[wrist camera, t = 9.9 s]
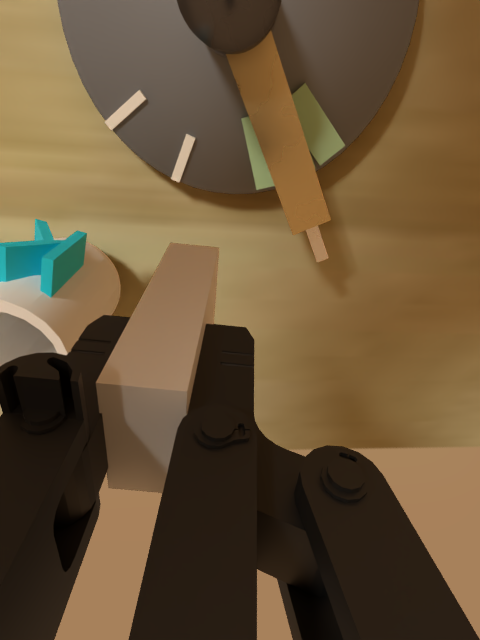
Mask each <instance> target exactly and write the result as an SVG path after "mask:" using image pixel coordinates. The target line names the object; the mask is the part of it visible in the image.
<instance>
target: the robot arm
mask: <svg viewBox="0 0 480 640" xmlns="http://www.w3.org/2000/svg"><path fill="white" fill-rule="evenodd" d="M218 257H219V248H217V247H208V246H198V245H188V244H178V243H170V244H169V246H168V248H167V250H166V252H165V254H164V256H163V257H162V259H161V261H160V263H159V265H158V267H157V269H156V271H155V272H154V274H153V276H152V278H151V280H150V282H149V284H148V286H147V287H146V289H145V291H144V293H143V295H142V297H141V299H140V301H139V302H138V304H137V306H136V308H135V310H134V312H133V314H132V316H131V317H120V316H110V315H103V316H101V317H100V318H98V319H96V320H95V321H93V322H92V323H90V324H89V325H87V327H86V328H85V330H84V331H83V333H82V334H81V335H80V337H79V340H78V341H76V343H75V344H74V346H73V347H72V348H71V352H69V353H68V354H67V355H63V354H58V353H54V352H48V353H34V354H29V355H25V356H20V357H18V358H15V359H13V360H11V361H9V362H7V363H4V364H3V365H1V366H0V405H1V408H2V411H3V414H2V415H1V416H0V640H54V639H55V636H56V633H57V630H58V627H59V625H60V622H61V619H62V616H63V613H64V611H65V608H66V605H67V602H68V600H69V597H70V594H71V591H72V589H73V585H74V583H75V580H76V577H77V575H78V572H79V569H80V566H81V564H82V561H83V558H84V555H85V552H86V550H87V547H88V544H89V541H90V538H91V536H92V533H93V530H94V527H95V524H96V522H97V519H98V516H99V510H100V499H99V490H100V488H101V485H102V483H103V480H104V477H105V475H106V472H107V478H108V486H109V488H113V489H125V490H136V491H147V492H158V493H162V497H161V502H160V506H159V510H158V515H157V519H156V523H155V528H154V532H153V536H152V541H151V545H150V549H149V554H148V558H147V562H146V567H145V571H144V576H143V580H142V584H141V588H140V593H139V597H138V601H137V606H136V610H135V614H134V619H133V623H132V627H131V632H130V636H129V640H257V569H258V570H260V571H262V572H264V573H266V574H269V575H271V576H273V577H275V578H277V580H278V584H279V588H280V592H281V596H282V599H283V603H284V607H285V611H286V615H287V619H288V623H289V626H290V630H291V634H292V638H293V640H480V639H479V638H478V636H477V634H476V632H475V631H474V629H473V627H472V626H471V624H470V622H469V621H468V619H467V617H466V615H465V614H464V612H463V610H462V609H461V607H460V605H459V604H458V602H457V600H456V598H455V597H454V595H453V594H452V592H451V590H450V588H449V587H448V585H447V583H446V581H445V580H444V578H443V576H442V575H441V573H440V571H439V569H438V568H437V566H436V564H435V563H434V561H433V559H432V558H431V556H430V554H429V552H428V551H427V549H426V548H425V546H424V544H423V542H422V541H421V539H420V537H419V535H418V534H417V532H416V530H415V529H414V527H413V525H412V524H411V522H410V520H409V518H408V517H407V515H406V513H405V512H404V510H403V508H402V507H401V505H400V503H399V501H398V500H397V498H396V496H395V495H394V493H393V491H392V490H391V488H390V486H389V485H388V483H387V481H386V479H385V478H384V476H383V474H382V473H381V472H380V471H379V470H378V468H377V467H376V466H375V465H374V464H373V462H371V461H370V460H369V459H367V458H366V457H364V456H363V455H361V454H360V453H359V452H356V451H353V450H351V449H348V448H345V447H342V446H324V447H320V448H317V449H314V450H313V451H311V452H310V453H309V454H308V455H307V456H306V457H305V456H302V455H299V454H297V453H294V452H292V451H289V450H286V449H284V448H282V447H280V446H278V445H276V444H274V443H273V442H272V441H270V440H269V439H268V438H266V437H265V436H264V435H263V433H262V432H261V431H260V430H259V428H258V426H257V424H256V422H255V418H254V339H253V337H252V336H251V334H250V333H249V331H248V330H247V328H246V327H236V326H226V325H216V324H214V313H215V299H216V285H217V271H218Z"/></svg>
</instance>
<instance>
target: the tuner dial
mask: <svg viewBox="0 0 480 640" xmlns="http://www.w3.org/2000/svg"><path fill="white" fill-rule="evenodd" d="M418 4H419V0H282V1H281V5H280V8H279V12H278V16H277V19H276V23H275V26H274V29H273V32H272V35H273V38H274V41H275V45H276V48H277V51H278V54H279V57H280V60H281V64H282V67H283V70H284V73H285V76H286V79H287V82H288V86H289V89H290V92H291V95H292V98H293V101H294V105H295V108H296V111H297V114H298V117H299V120H300V123H301V127H302V130H303V133H304V136H305V139H306V142H307V146H308V149H309V152H310V155H311V158H312V161H313V164H314V168H315V171H317V170H319V169H321V168H322V167H324V166H326V165H327V164H328V163H329V162H331V161H332V160H333V159H334V158H336V157H337V156H338V155H340V154H341V153H342V152H343V151H344V150H345V149H346V148H347V147H348V146H349V145H350V144H351V143H352V142H353V141H354V140H355V139H356V138H357V137H358V136H359V135H360V134H361V132H362V131H363V130H364V129H365V127H366V126H367V125H368V124H369V122H370V121H371V120H372V119H373V117H374V116H375V114H376V113H377V111H378V110H379V108H380V106H381V105H382V103H383V102H384V100H385V99H386V97H387V95H388V93H389V91H390V89H391V87H392V85H393V83H394V81H395V79H396V77H397V75H398V73H399V71H400V68H401V66H402V63H403V60H404V58H405V55H406V52H407V50H408V47H409V44H410V40H411V36H412V32H413V28H414V24H415V21H416V17H417V10H418ZM58 7H59V11H60V16H61V21H62V26H63V31H64V34H65V38H66V41H67V44H68V47H69V50H70V54H71V57H72V60H73V62H74V64H75V67H76V69H77V71H78V74H79V76H80V78H81V81H82V83H83V85H84V87H85V89H86V90H87V92H88V94H89V96H90V98H91V99H92V101H93V103H94V105H95V107H96V108H97V109H98V111H99V112H100V114H101V115H102V117H103V118H104V119H105V123H106V125H107V126H108V127H109V128H110V130H113V131H114V132H115V133H116V134H117V136H118V137H119V138H120V139H121V140H122V141H123V142H124V143H125V144H126V145H127V146H128V147H129V148H130V149H131V150H132V151H133V152H134V153H136V154H137V155H138V156H139V157H140V158H141V159H143V160H144V161H145V162H147V163H148V164H150V165H151V166H152V167H154V168H155V169H157V170H158V171H160V172H162V173H164V174H165V175H167V176H169V177H171V179H172V180H174V181H176V182H182V183H184V184H187V185H189V186H192V187H195V188H199V189H203V190H207V191H211V192H218V193H227V194H251V193H258V192H264V191H270V190H273V189H276V188H275V185H274V183H273V180H272V177H271V174H270V172H269V169H268V166H267V164H266V161H265V158H264V156H263V153H262V150H261V148H260V145H259V142H258V139H257V137H256V134H255V131H254V129H253V126H252V123H251V121H250V118H249V115H248V113H247V110H246V107H245V104H244V102H243V99H242V96H241V94H240V91H239V88H238V86H237V83H236V80H235V78H234V75H233V72H232V70H231V67H230V64H229V61H228V59H227V58H225V57H222V56H220V55H218V54H217V53H215V52H214V51H213V50H211V49H210V48H209V47H208V46H207V45H206V44H204V43H203V42H202V41H201V40H200V39H199V38H198V37H197V36H196V35H195V34H194V33H193V32H192V31H191V30H190V28H189V27H188V25H187V24H186V22H185V21H184V19H183V16H182V14H181V12H180V9H179V6H178V3H177V0H58Z"/></svg>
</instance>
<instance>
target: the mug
mask: <svg viewBox="0 0 480 640" xmlns="http://www.w3.org/2000/svg"><path fill="white" fill-rule="evenodd" d="M86 236H87V233H84V232H80V231H76V232H75V233H73V234H72V235H71V236H69V237H68V238H53V236H52V234H51V231H50V229H49V227H48V224H47V222H45V221H41V220H38V219H35V241H23V242H7V243H0V366H1V365H3V364H4V363H7V362H9V361H11V360H13V359H15V358H18V357H20V356H25V355H29V354H34V353H48V352H54V353H58V354H63V355H67V354H68V353H69V352H71V348H72V347H73V346H74V344H75V343H76V341H78V340H79V337H80V335H81V334H82V333H83V331H84V330H85V328H86V327H87V325H89V324H90V323H92V322H93V321H95V320H96V319H98V318H100V317H101V316H103V315H110V316H111V315H112V314H113V312H114V311H115V309H116V307H117V305H118V302H119V299H120V292H121V285H120V278H119V275H118V272H117V270H116V268H115V266H114V264H113V263H112V261H111V260H110V259H109V257H108V256H107V255H106V254H105V253H104V252H103V251H101V250H100V249H99V248H97V247H96V246H94V245H92V244H90V243H88V242H86Z"/></svg>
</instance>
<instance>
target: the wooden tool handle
mask: <svg viewBox="0 0 480 640" xmlns="http://www.w3.org/2000/svg"><path fill="white" fill-rule="evenodd" d="M281 1H282V0H177V3H178V6H179V9H180V12H181V14H182V16H183V19H184V21H185V22H186V24H187V25H188V27H189V28H190V30H191V31H192V32H193V33H194V34H195V35H196V36H197V37H198V38H199V39H200V40H201V41H202V42H203V43H204V44H206V45H207V46H208V47H209V48H210V49H211V50H213V51H214V52H215V53H217V54H218V55H220V56H222V57H225V58H227V59H228V61H229V64H230V67H231V70H232V72H233V75H234V78H235V80H236V83H237V86H238V88H239V91H240V94H241V96H242V99H243V102H244V104H245V107H246V110H247V113H248V115H249V118H250V121H251V123H252V126H253V129H254V131H255V134H256V137H257V139H258V142H259V145H260V148H261V150H262V153H263V156H264V158H265V161H266V164H267V166H268V169H269V172H270V174H271V177H272V180H273V183H274V185H275V188H276V191H277V193H278V196H279V199H280V201H281V204H282V207H283V209H284V212H285V215H286V218H287V220H288V223H289V226H290V228H291V231H292V234H293V235H295V234H297V233H300V232H303V231H305V230H306V233H307V236H308V238H309V241H310V244H311V247H312V250H313V253H314V255H315V258H316V261H317V262H320V261H323V260H325V259H328V258H329V257H328V254H327V251H326V248H325V245H324V242H323V239H322V236H321V233H320V230H319V228H318V225H320V224H323V223H325V222H328V221H331V218H330V215H329V212H328V209H327V205H326V202H325V199H324V196H323V193H322V190H321V187H320V183H319V180H318V177H317V174H316V171H315V168H314V164H313V161H312V158H311V155H310V152H309V149H308V146H307V142H306V139H305V136H304V133H303V130H302V127H301V123H300V120H299V117H298V114H297V111H296V108H295V105H294V101H293V98H292V95H291V92H290V89H289V86H288V82H287V79H286V76H285V73H284V70H283V67H282V64H281V60H280V57H279V54H278V51H277V48H276V45H275V41H274V38H273V35H272V32H273V29H274V26H275V23H276V19H277V16H278V12H279V8H280V5H281Z"/></svg>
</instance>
